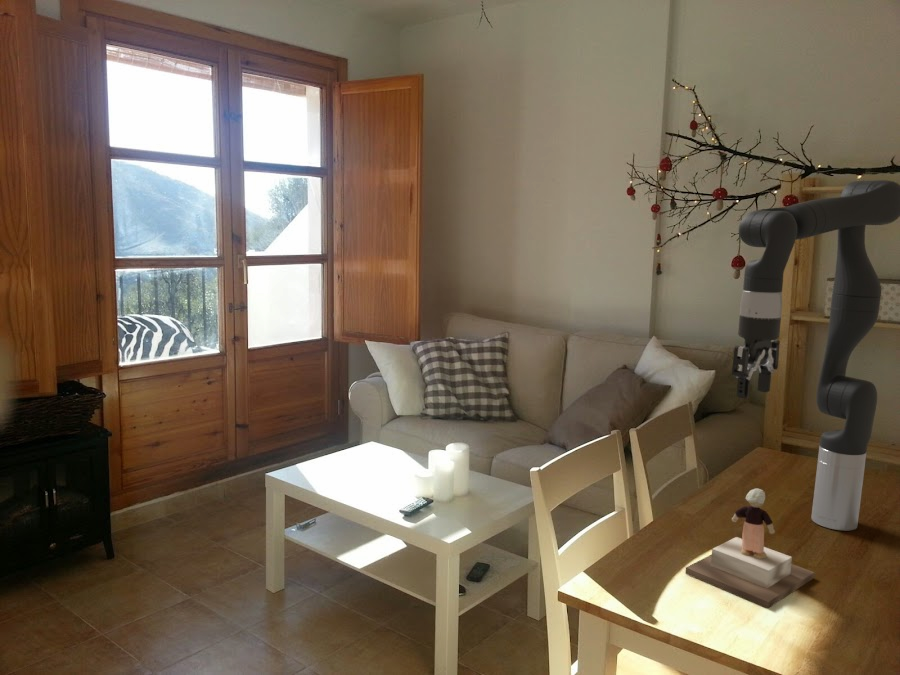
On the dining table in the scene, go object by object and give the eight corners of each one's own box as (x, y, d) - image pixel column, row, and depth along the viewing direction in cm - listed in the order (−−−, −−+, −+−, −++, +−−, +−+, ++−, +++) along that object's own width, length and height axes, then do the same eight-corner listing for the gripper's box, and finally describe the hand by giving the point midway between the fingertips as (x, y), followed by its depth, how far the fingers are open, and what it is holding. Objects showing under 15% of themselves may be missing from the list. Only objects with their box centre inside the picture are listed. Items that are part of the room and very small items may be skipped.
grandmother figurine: (773, 554, 138) (780, 489, 136) (771, 562, 135) (778, 496, 133) (730, 544, 142) (736, 481, 140) (726, 552, 138) (733, 487, 136)
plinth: (734, 548, 151) (736, 526, 150) (813, 578, 139) (816, 555, 138) (685, 573, 139) (687, 550, 139) (767, 608, 127) (770, 583, 127)
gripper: (761, 319, 137) (754, 404, 140) (795, 313, 147) (788, 393, 149) (723, 314, 143) (717, 396, 146) (759, 309, 152) (752, 386, 155)
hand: (753, 394), depth 147 cm, fingers open, 8 cm apart
